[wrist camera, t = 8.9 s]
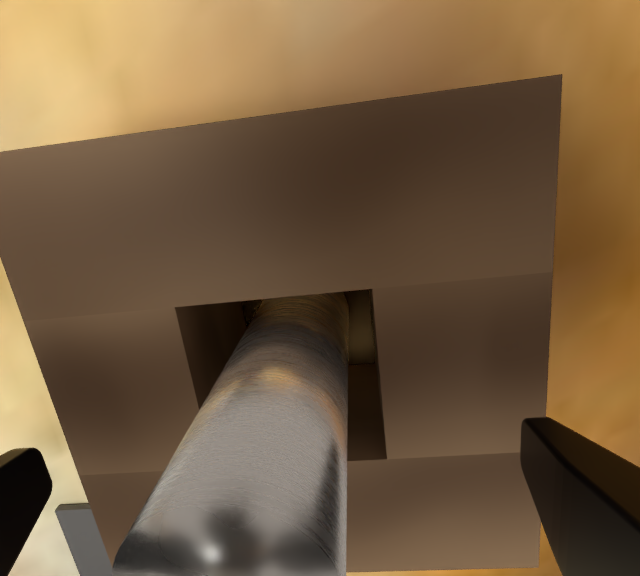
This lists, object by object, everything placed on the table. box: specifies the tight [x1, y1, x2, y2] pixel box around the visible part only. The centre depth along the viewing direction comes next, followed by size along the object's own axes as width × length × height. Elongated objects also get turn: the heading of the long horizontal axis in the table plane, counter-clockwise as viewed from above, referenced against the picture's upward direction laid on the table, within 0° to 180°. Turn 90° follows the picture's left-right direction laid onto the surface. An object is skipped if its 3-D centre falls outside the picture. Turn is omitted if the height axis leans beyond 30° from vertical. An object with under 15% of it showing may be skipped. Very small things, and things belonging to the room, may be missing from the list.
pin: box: [112, 292, 349, 576], centre depth 10 cm, size 3×3×10 cm
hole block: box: [0, 74, 562, 572], centre depth 12 cm, size 12×12×5 cm
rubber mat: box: [55, 504, 112, 576], centre depth 19 cm, size 8×10×1 cm
